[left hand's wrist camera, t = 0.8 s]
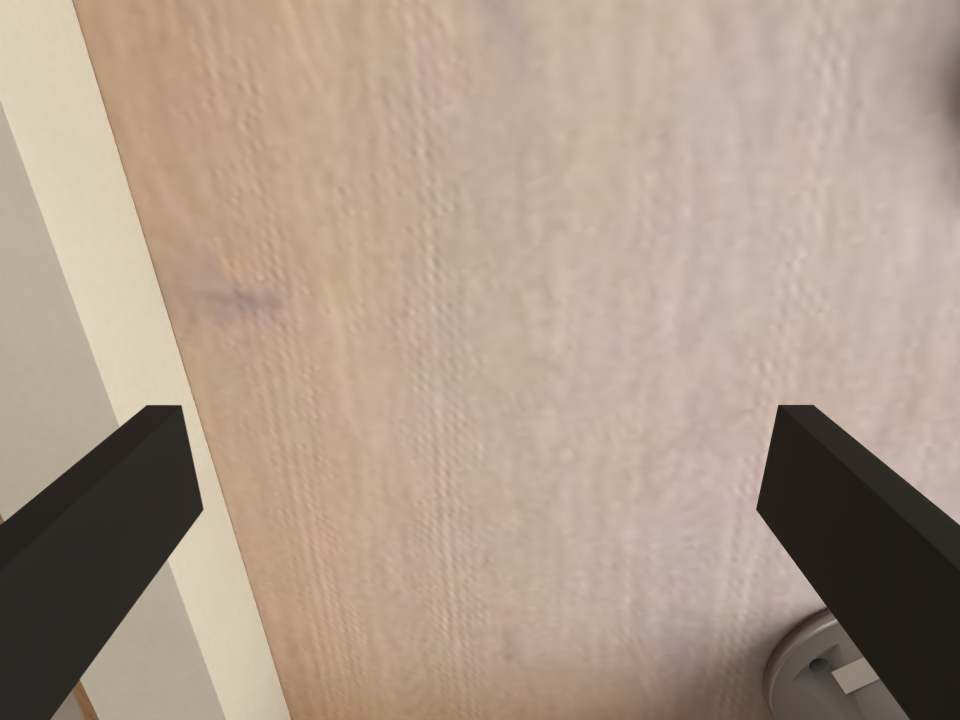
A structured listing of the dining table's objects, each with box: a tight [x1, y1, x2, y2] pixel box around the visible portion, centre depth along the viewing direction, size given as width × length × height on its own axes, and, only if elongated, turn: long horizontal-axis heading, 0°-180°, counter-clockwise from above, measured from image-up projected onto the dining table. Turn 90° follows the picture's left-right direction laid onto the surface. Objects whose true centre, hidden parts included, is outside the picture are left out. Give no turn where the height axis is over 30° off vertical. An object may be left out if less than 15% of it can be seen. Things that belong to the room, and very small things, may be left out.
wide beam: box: [0, 0, 291, 720], centre depth 37 cm, size 66×8×7 cm, turn 5°
